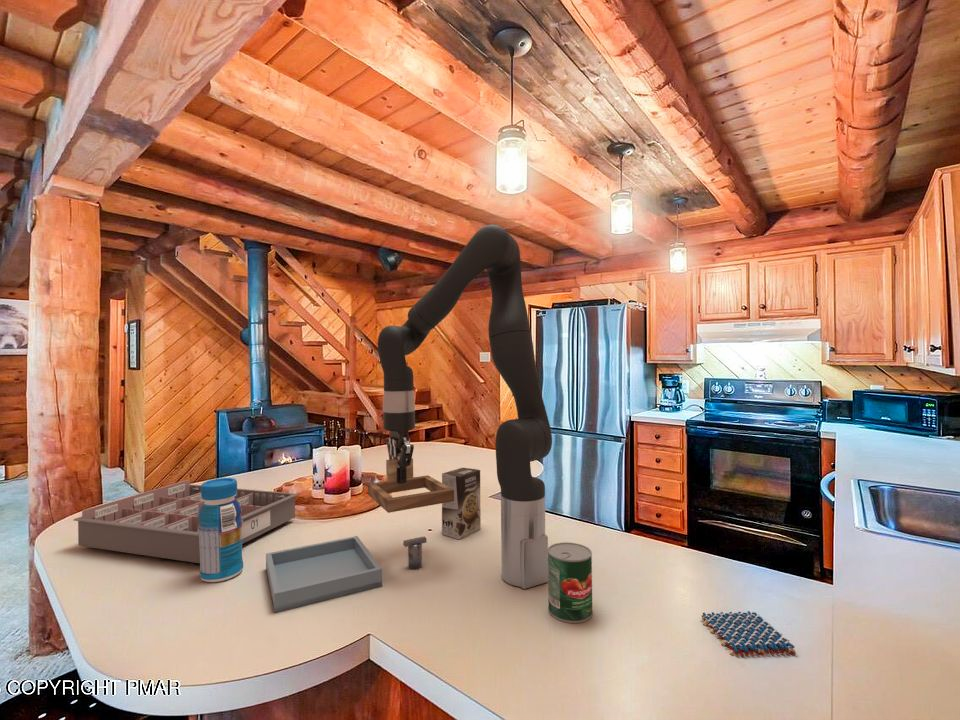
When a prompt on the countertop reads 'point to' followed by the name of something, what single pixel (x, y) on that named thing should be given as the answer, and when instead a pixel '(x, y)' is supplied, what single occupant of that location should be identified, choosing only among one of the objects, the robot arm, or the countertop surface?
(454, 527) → the coffee box
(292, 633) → the countertop surface
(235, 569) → the beverage bottle
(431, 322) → the robot arm
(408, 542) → the grey metal t-shaped piece
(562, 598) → the canned tomato
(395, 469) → the wooden frame with tab
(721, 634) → the woven mat
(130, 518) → the organizer tray
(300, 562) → the tray
